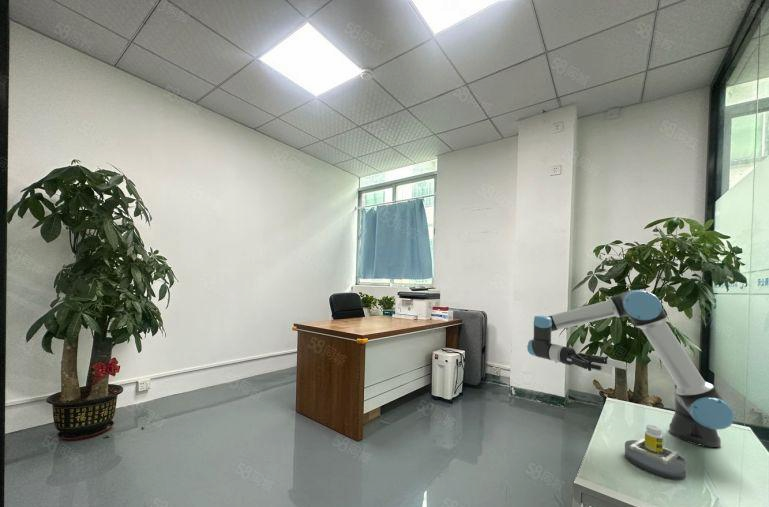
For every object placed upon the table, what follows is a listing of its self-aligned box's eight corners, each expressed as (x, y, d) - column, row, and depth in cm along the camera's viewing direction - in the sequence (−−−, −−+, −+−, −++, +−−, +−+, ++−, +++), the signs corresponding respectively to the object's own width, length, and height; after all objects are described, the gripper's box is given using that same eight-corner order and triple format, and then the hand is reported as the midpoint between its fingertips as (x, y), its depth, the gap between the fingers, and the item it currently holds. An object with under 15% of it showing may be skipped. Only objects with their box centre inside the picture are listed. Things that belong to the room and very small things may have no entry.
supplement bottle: (658, 457, 104) (658, 432, 105) (641, 450, 109) (642, 425, 109) (665, 454, 107) (665, 429, 107) (648, 447, 111) (648, 423, 111)
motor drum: (635, 447, 118) (635, 433, 119) (692, 471, 105) (692, 455, 105) (616, 458, 110) (616, 443, 110) (676, 486, 96) (676, 468, 97)
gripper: (576, 360, 146) (631, 373, 128) (547, 366, 132) (604, 382, 114) (576, 344, 146) (631, 355, 129) (548, 348, 133) (605, 361, 115)
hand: (619, 368), depth 121 cm, fingers open, 13 cm apart
